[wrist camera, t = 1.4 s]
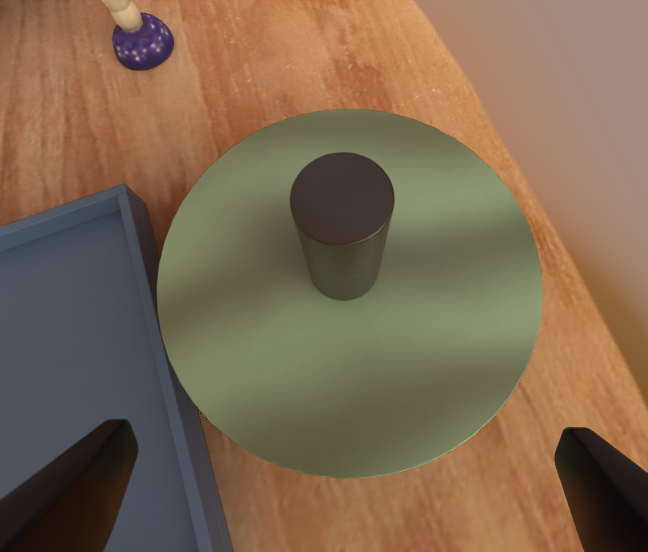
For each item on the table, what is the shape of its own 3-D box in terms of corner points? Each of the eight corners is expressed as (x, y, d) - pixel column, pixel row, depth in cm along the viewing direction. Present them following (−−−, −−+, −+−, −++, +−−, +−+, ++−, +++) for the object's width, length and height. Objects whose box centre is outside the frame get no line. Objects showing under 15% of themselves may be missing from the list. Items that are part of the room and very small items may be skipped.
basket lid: (604, 386, 16) (808, 375, 9) (222, 538, 15) (112, 658, 8) (433, 84, 20) (477, -79, 13) (135, 188, 19) (18, 72, 13)
